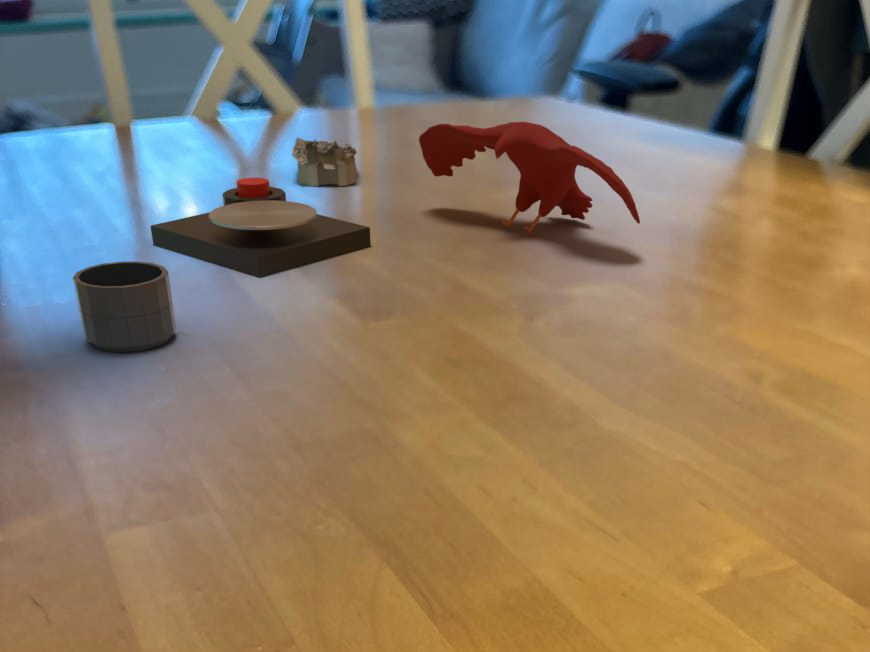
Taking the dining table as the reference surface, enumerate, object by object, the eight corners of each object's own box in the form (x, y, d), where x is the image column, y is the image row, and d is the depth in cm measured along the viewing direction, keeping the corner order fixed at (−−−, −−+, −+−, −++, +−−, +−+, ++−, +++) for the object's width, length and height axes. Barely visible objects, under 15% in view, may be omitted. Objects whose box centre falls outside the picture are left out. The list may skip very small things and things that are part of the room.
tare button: (231, 197, 112) (229, 181, 111) (256, 191, 114) (254, 175, 113) (252, 202, 110) (250, 186, 109) (276, 196, 112) (275, 180, 111)
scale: (149, 244, 109) (144, 207, 107) (261, 218, 117) (257, 183, 115) (259, 278, 100) (255, 238, 98) (371, 247, 109) (369, 209, 107)
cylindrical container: (68, 339, 86) (55, 274, 83) (142, 318, 90) (132, 256, 87) (120, 360, 82) (107, 293, 80) (194, 337, 87) (185, 273, 84)
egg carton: (357, 187, 130) (355, 150, 127) (292, 188, 129) (289, 150, 127) (358, 167, 138) (356, 131, 136) (297, 167, 138) (294, 132, 136)
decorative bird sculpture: (451, 243, 126) (379, 151, 113) (494, 175, 126) (427, 76, 114) (650, 300, 109) (591, 199, 97) (699, 221, 110) (646, 112, 98)
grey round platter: (186, 216, 104) (186, 213, 103) (269, 198, 110) (269, 195, 110) (256, 236, 98) (256, 232, 98) (339, 215, 105) (338, 212, 104)
